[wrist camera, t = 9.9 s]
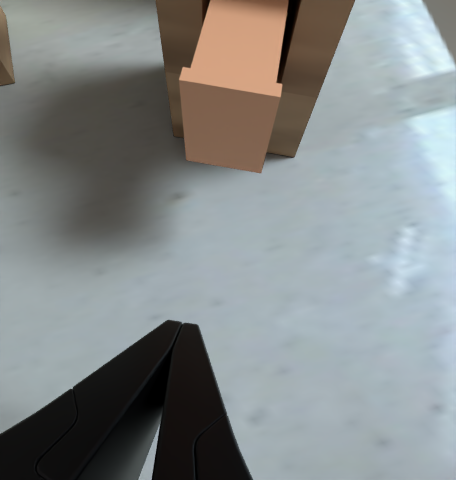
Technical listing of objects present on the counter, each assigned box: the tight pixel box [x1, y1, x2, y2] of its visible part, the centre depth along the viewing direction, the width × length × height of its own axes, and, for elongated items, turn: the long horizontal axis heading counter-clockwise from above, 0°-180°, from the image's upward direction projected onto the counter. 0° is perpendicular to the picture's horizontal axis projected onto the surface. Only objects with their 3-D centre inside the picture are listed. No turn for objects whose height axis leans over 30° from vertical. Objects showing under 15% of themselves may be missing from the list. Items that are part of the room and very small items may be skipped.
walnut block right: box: [156, 0, 355, 157], centre depth 18 cm, size 7×8×12 cm
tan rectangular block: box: [179, 0, 289, 173], centre depth 15 cm, size 8×3×4 cm, turn 170°
